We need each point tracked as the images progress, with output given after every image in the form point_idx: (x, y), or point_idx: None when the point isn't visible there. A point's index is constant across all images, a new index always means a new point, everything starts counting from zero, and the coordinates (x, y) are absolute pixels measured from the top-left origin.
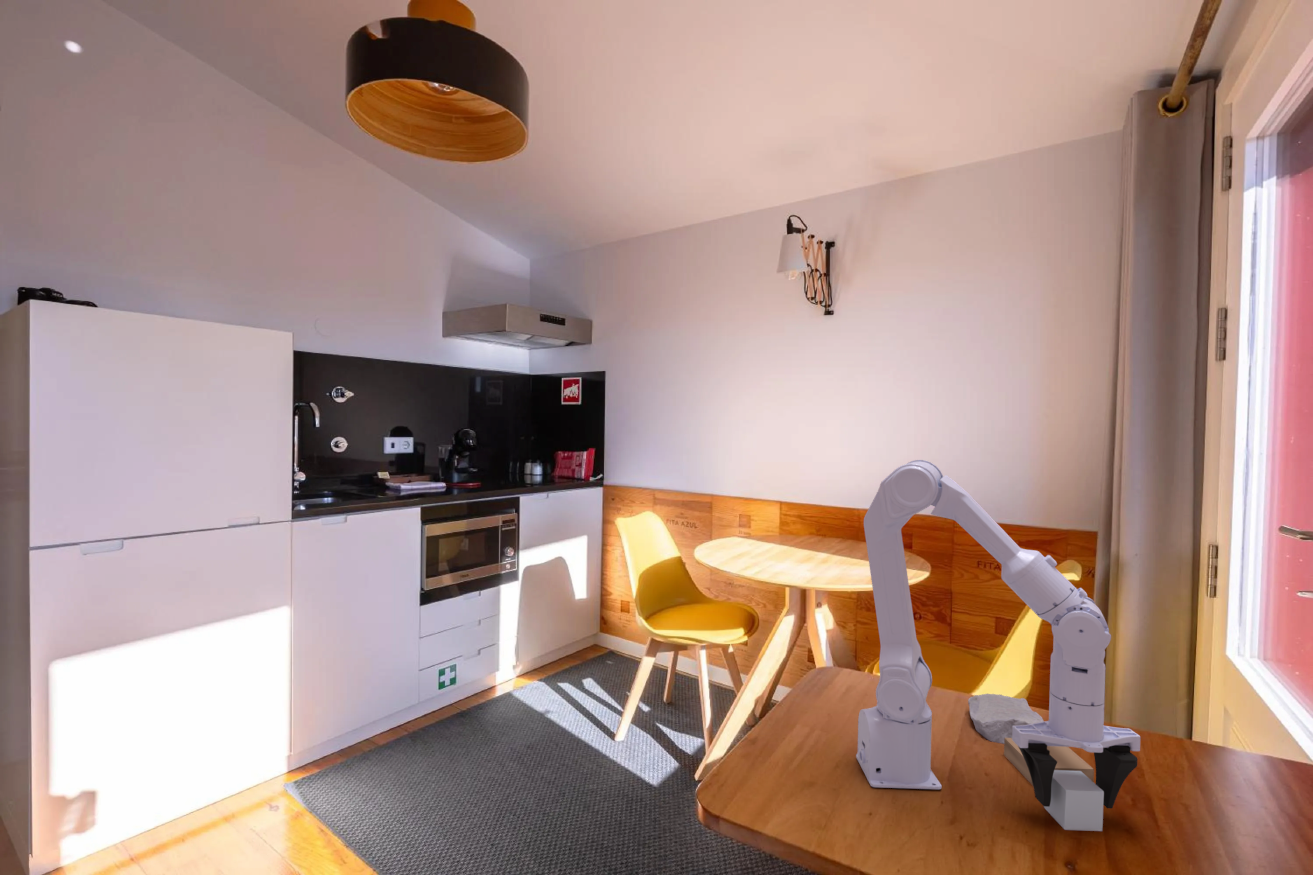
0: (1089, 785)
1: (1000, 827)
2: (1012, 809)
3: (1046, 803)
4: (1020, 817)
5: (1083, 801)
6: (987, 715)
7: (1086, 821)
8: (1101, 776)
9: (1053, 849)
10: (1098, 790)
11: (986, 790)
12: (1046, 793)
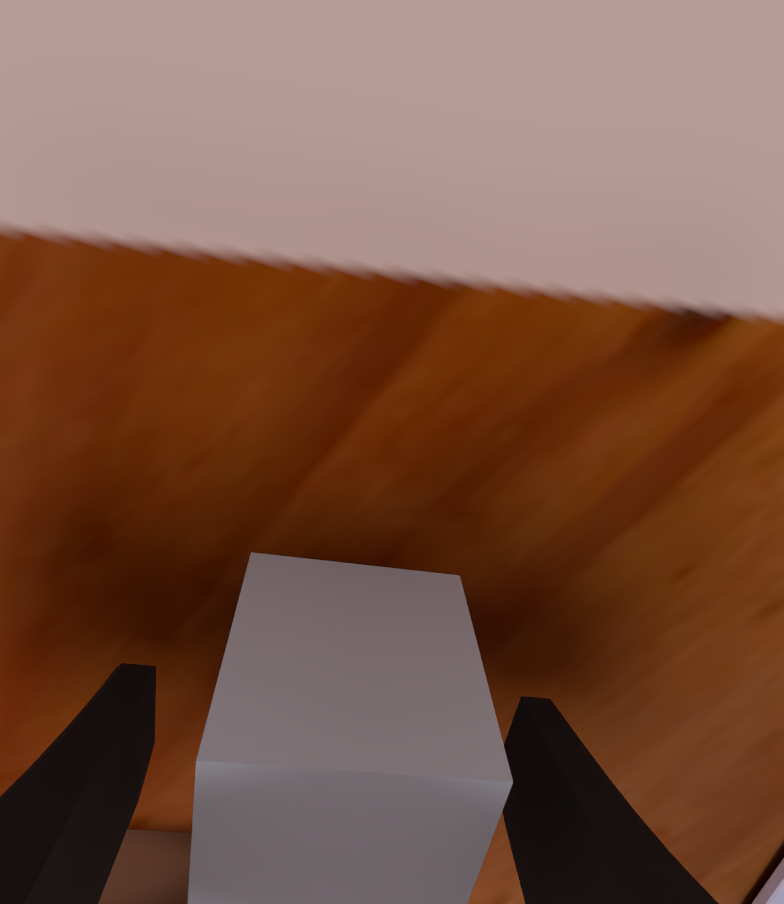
0: (257, 820)
1: (779, 609)
2: (594, 713)
3: (553, 710)
4: (609, 664)
5: (364, 697)
6: None
7: (343, 595)
8: (80, 900)
9: (669, 441)
10: (235, 770)
11: None
12: (592, 768)
